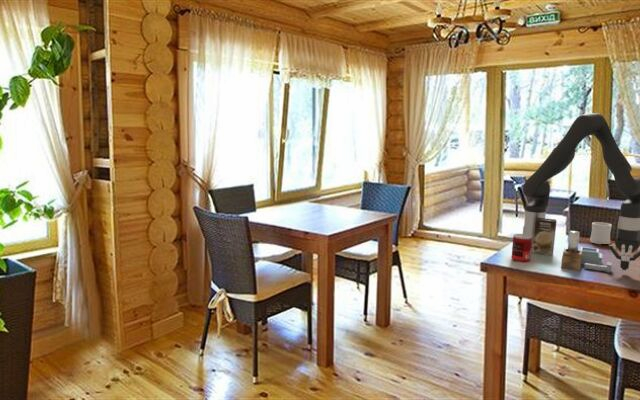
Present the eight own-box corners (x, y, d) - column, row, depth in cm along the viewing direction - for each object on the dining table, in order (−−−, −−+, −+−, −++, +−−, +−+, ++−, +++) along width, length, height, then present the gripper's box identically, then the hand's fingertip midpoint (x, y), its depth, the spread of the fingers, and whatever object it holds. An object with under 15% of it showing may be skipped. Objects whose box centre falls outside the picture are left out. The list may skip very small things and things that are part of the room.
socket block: (561, 267, 207) (562, 252, 206) (563, 262, 215) (564, 247, 214) (579, 270, 203) (581, 255, 202) (581, 264, 212) (582, 249, 211)
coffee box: (531, 253, 229) (534, 219, 227) (532, 250, 235) (535, 217, 232) (553, 255, 225) (556, 221, 223) (553, 252, 231) (556, 219, 229)
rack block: (574, 263, 214) (576, 249, 213) (575, 258, 221) (577, 245, 220) (601, 266, 209) (602, 253, 208) (601, 262, 216) (602, 249, 215)
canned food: (529, 258, 221) (531, 234, 219) (530, 263, 213) (532, 238, 212) (511, 256, 223) (513, 233, 222) (511, 261, 216) (513, 236, 214)
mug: (613, 245, 246) (616, 225, 245) (595, 245, 247) (597, 225, 245) (600, 239, 259) (602, 220, 257) (582, 239, 259) (584, 220, 257)
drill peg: (566, 255, 208) (569, 232, 206) (567, 253, 211) (569, 230, 209) (577, 256, 206) (579, 233, 204) (577, 254, 209) (579, 231, 208)
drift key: (584, 269, 205) (585, 261, 204) (584, 266, 209) (585, 259, 208) (610, 272, 200) (611, 265, 200) (610, 270, 204) (611, 262, 203)
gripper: (609, 227, 197) (605, 269, 199) (649, 231, 190) (644, 274, 193) (609, 224, 203) (605, 264, 206) (647, 228, 197) (643, 269, 199)
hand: (624, 269), depth 199 cm, fingers closed
